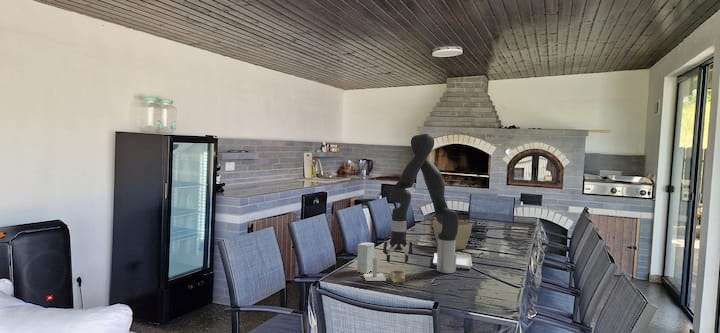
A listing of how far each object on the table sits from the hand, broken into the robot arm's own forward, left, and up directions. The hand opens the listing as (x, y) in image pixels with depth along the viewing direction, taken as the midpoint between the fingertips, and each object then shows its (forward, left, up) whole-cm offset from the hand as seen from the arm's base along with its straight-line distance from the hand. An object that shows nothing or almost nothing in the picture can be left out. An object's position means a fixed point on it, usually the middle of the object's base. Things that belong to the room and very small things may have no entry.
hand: (397, 262), depth 213 cm
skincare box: (+14, -15, -9) cm, 22 cm away
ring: (0, 0, -9) cm, 9 cm away
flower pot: (-49, -66, -9) cm, 83 cm away
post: (+11, -3, -9) cm, 14 cm away
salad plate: (-38, -28, -10) cm, 48 cm away
